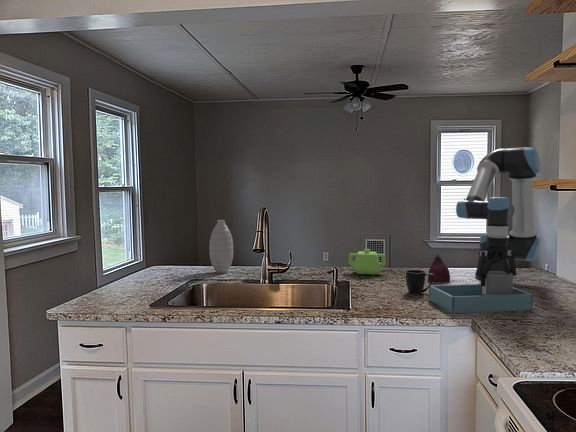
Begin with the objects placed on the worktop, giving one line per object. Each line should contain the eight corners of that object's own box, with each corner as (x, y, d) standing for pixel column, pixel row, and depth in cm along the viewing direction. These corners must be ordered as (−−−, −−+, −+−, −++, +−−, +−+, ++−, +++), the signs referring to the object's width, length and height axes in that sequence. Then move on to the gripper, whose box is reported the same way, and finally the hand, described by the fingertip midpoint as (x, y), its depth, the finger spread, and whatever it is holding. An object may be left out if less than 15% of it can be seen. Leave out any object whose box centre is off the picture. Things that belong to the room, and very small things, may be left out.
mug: (432, 296, 200) (433, 274, 199) (404, 294, 205) (404, 272, 204) (435, 292, 208) (435, 271, 207) (407, 290, 212) (407, 269, 212)
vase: (236, 270, 260) (236, 219, 258) (228, 275, 248) (228, 221, 246) (215, 269, 263) (214, 219, 261) (206, 274, 251) (205, 221, 249)
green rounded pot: (348, 269, 264) (348, 246, 263) (384, 270, 261) (385, 246, 260) (347, 275, 246) (347, 250, 245) (387, 276, 243) (387, 251, 242)
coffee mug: (515, 302, 180) (516, 276, 179) (488, 301, 181) (489, 275, 180) (504, 293, 193) (505, 269, 192) (479, 293, 194) (479, 269, 194)
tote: (502, 297, 198) (502, 283, 198) (532, 310, 178) (533, 294, 178) (429, 300, 194) (429, 285, 194) (451, 313, 174) (452, 297, 174)
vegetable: (442, 290, 226) (442, 261, 221) (423, 283, 234) (423, 256, 229) (454, 281, 232) (454, 253, 227) (435, 276, 240) (435, 248, 235)
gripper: (516, 235, 190) (514, 290, 192) (466, 236, 188) (465, 292, 189) (528, 237, 183) (526, 295, 184) (476, 238, 180) (475, 297, 182)
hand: (495, 293), depth 187 cm, fingers closed on coffee mug, 8 cm apart
